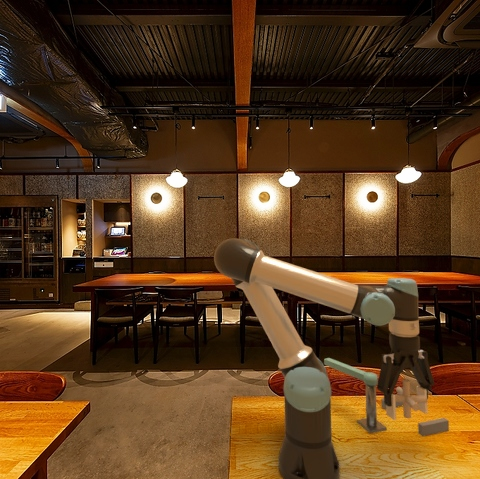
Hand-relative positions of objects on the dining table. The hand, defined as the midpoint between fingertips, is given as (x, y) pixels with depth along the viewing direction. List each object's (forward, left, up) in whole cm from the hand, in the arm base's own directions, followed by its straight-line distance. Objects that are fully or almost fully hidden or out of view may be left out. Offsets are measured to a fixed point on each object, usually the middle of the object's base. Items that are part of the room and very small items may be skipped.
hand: (407, 414), depth 83 cm
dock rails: (+14, +12, -10) cm, 21 cm away
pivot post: (-2, +12, -10) cm, 16 cm away
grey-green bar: (-4, +20, +4) cm, 21 cm away
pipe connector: (0, 0, -1) cm, 1 cm away
